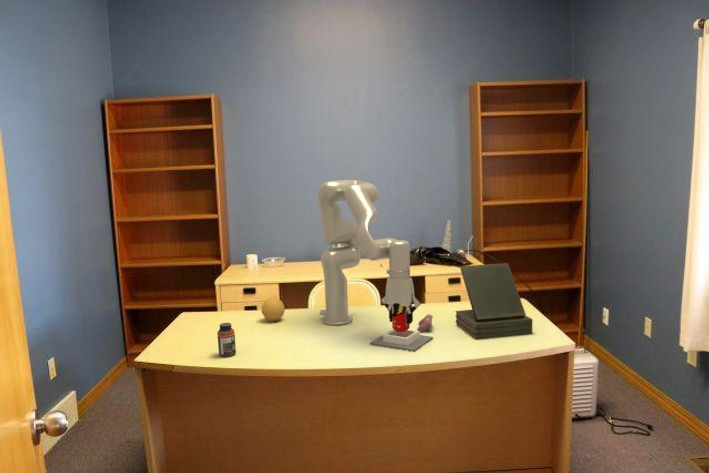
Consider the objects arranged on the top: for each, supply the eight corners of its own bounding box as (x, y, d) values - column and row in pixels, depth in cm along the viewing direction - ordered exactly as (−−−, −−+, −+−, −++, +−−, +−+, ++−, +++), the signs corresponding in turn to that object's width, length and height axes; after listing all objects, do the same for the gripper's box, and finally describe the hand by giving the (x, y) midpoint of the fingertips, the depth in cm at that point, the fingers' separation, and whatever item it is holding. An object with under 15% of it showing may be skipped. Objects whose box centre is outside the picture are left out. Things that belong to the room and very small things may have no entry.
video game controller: (426, 336, 203) (434, 321, 202) (416, 331, 204) (423, 316, 202) (428, 329, 213) (435, 314, 211) (417, 324, 213) (425, 309, 212)
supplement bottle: (220, 352, 189) (218, 322, 188) (237, 351, 189) (235, 321, 188) (217, 358, 183) (215, 326, 182) (234, 357, 184) (232, 325, 182)
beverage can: (398, 326, 197) (398, 295, 196) (413, 329, 193) (412, 297, 192) (389, 330, 193) (388, 299, 191) (403, 333, 189) (402, 301, 187)
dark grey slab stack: (474, 340, 193) (474, 273, 190) (455, 325, 212) (454, 265, 209) (532, 335, 197) (532, 269, 194) (508, 321, 216) (508, 261, 213)
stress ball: (285, 324, 225) (290, 305, 232) (274, 311, 219) (280, 292, 226) (266, 326, 229) (271, 307, 236) (254, 313, 223) (261, 294, 229)
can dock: (369, 344, 192) (369, 335, 191) (390, 332, 205) (390, 324, 204) (414, 352, 182) (414, 342, 181) (433, 338, 195) (432, 330, 195)
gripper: (374, 274, 192) (375, 322, 194) (416, 278, 183) (417, 328, 185) (384, 270, 198) (385, 316, 200) (425, 274, 189) (426, 322, 191)
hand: (400, 321), depth 193 cm, fingers closed on beverage can, 6 cm apart
